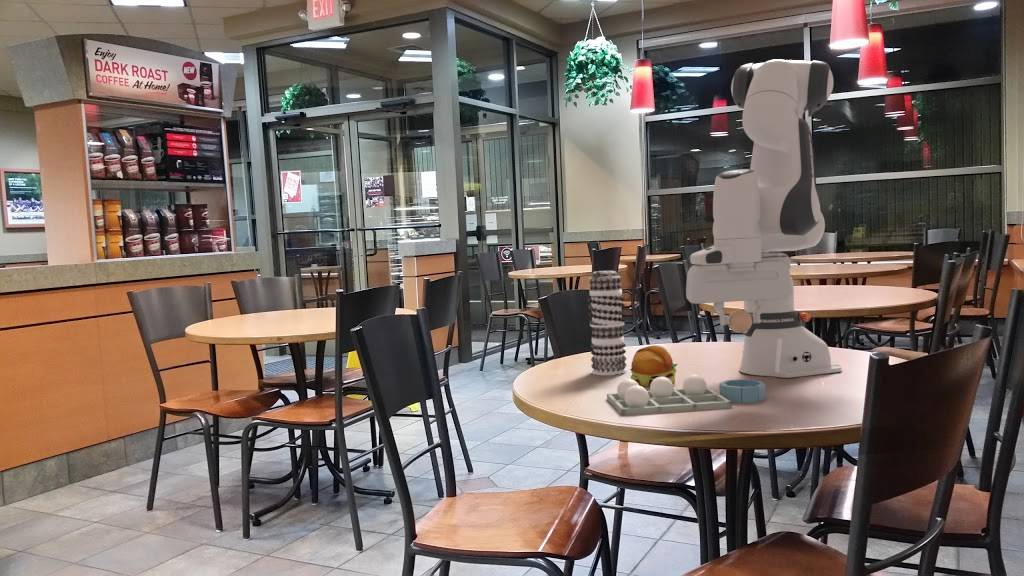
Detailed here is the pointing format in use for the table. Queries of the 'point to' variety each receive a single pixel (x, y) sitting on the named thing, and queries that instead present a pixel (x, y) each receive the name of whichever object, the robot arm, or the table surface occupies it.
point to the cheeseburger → (652, 365)
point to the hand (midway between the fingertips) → (739, 324)
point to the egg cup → (743, 390)
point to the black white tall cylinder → (607, 323)
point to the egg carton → (666, 397)
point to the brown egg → (740, 321)
